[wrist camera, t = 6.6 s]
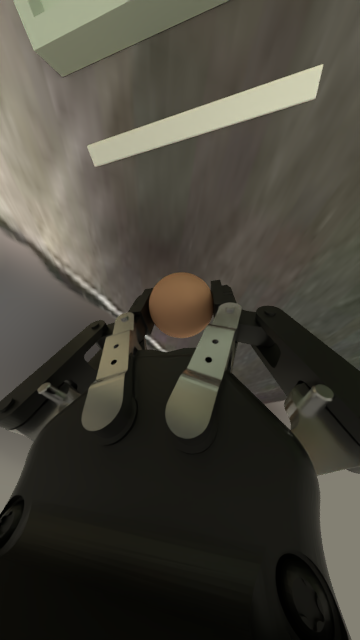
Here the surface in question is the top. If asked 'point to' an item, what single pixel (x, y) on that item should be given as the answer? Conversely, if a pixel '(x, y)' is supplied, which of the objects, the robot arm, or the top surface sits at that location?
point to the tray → (98, 26)
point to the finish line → (210, 117)
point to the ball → (181, 305)
